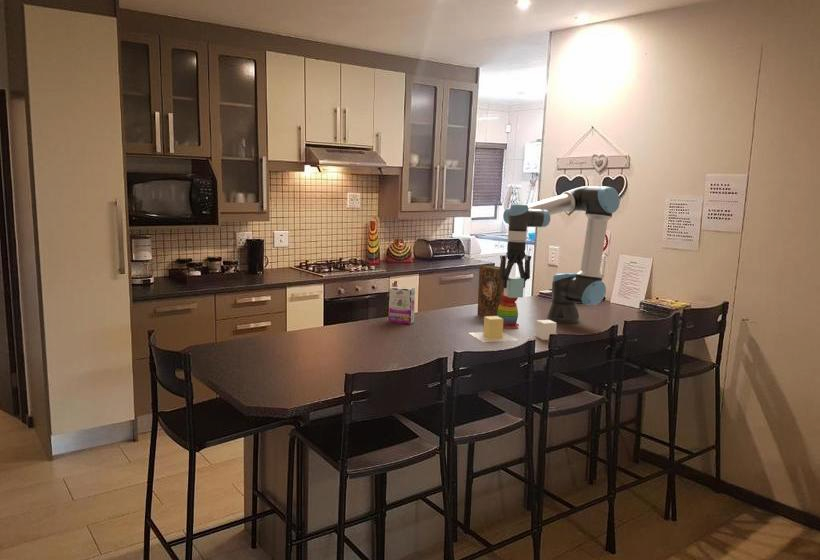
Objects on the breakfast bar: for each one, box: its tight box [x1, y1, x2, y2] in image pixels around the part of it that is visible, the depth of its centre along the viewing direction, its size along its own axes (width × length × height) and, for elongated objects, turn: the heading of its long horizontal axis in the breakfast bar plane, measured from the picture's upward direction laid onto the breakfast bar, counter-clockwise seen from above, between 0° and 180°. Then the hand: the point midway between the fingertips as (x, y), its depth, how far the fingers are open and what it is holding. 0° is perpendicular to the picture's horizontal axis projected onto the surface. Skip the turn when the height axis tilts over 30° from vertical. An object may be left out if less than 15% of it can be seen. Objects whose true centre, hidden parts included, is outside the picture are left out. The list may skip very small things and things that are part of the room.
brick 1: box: [504, 276, 525, 299], centre depth 256 cm, size 6×6×8 cm
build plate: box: [468, 331, 519, 343], centre depth 255 cm, size 16×16×1 cm
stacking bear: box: [497, 291, 520, 330], centre depth 273 cm, size 11×10×18 cm
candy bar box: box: [388, 286, 416, 325], centre depth 280 cm, size 11×5×16 cm, turn 68°
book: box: [476, 264, 506, 318], centre depth 294 cm, size 16×6×25 cm, turn 34°
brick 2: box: [535, 319, 558, 341], centre depth 254 cm, size 6×6×8 cm
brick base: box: [483, 316, 504, 339], centre depth 254 cm, size 6×6×8 cm
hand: (513, 295), depth 257 cm, fingers closed on brick 1, 6 cm apart
